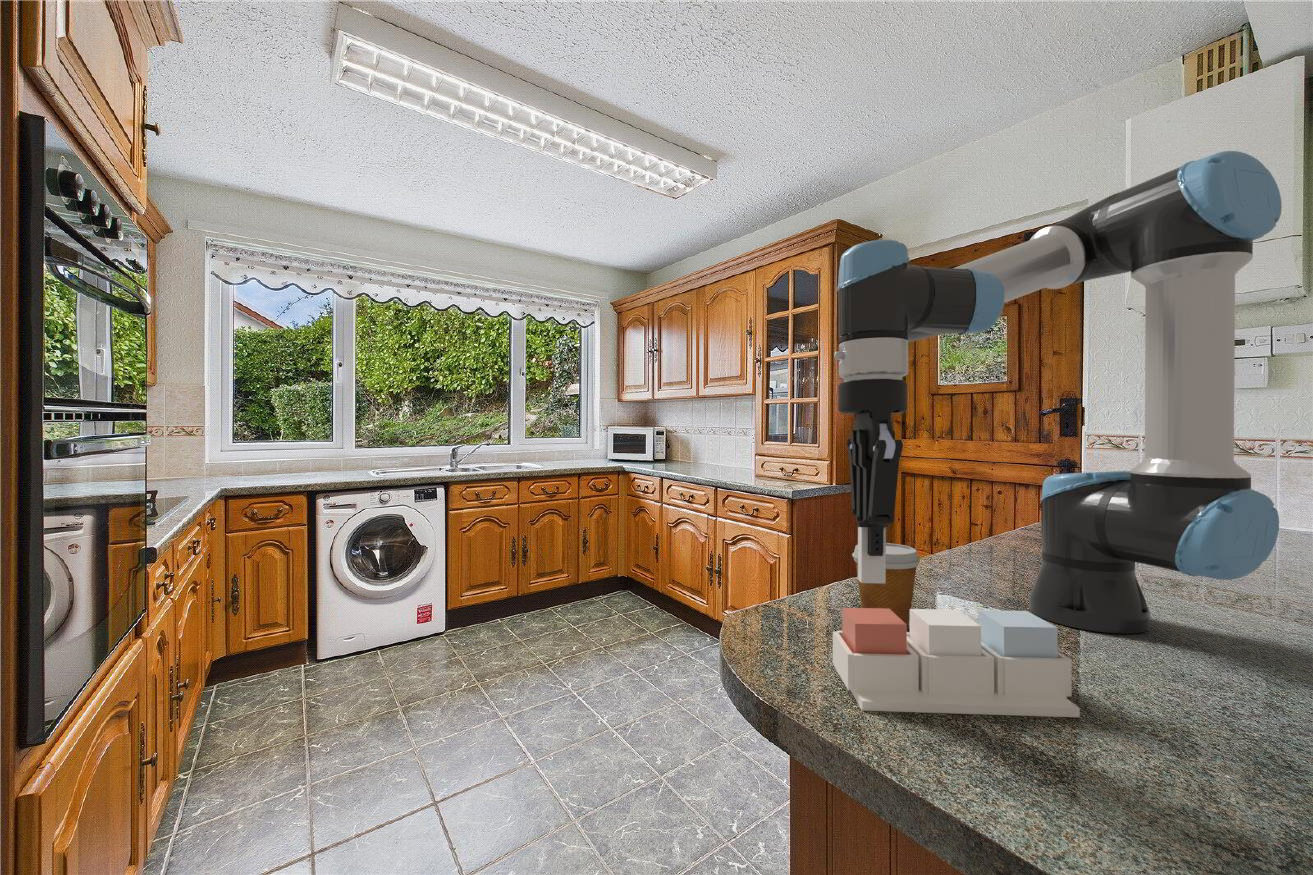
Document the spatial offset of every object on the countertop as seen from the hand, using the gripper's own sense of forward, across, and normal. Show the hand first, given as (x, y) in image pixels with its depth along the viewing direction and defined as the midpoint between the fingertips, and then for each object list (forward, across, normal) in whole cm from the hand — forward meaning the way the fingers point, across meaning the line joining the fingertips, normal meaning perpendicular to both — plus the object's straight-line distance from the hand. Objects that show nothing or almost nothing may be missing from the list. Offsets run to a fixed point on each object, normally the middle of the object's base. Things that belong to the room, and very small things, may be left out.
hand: (871, 581), depth 64 cm
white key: (+8, 0, +8) cm, 12 cm away
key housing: (+12, 0, +8) cm, 15 cm away
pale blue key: (+8, 0, +16) cm, 18 cm away
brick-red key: (+8, 0, 0) cm, 8 cm away
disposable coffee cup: (+12, -20, +8) cm, 25 cm away
